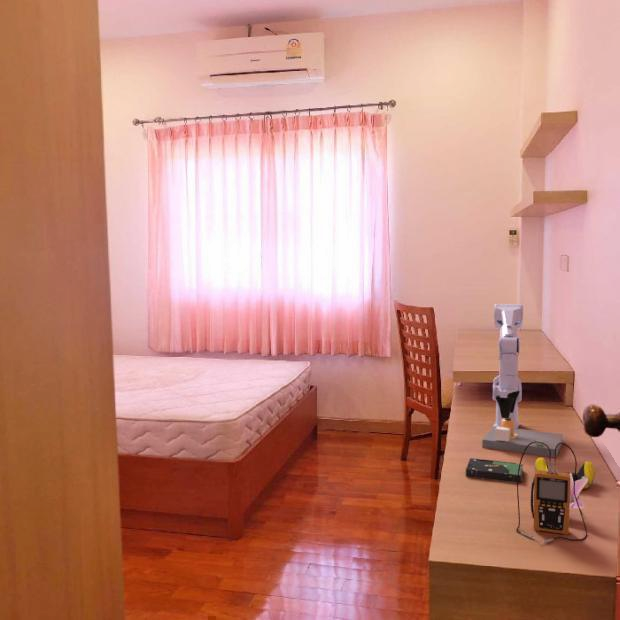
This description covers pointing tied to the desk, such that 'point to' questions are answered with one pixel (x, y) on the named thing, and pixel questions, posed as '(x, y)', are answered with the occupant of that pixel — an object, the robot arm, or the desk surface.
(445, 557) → the desk surface
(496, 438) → the lever
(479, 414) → the desk surface
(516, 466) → the disk drive
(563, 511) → the multimeter
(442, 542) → the desk surface
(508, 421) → the cap
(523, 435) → the panel
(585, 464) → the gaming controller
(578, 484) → the lily
